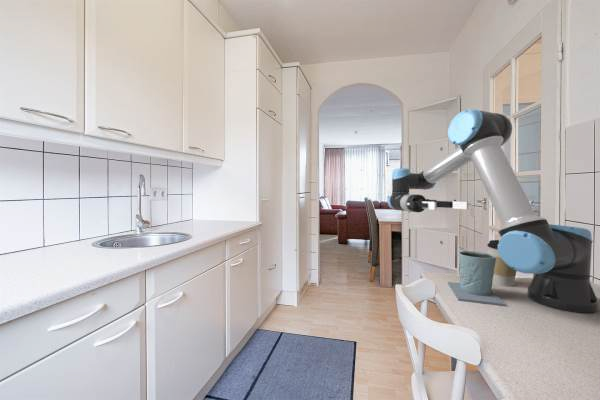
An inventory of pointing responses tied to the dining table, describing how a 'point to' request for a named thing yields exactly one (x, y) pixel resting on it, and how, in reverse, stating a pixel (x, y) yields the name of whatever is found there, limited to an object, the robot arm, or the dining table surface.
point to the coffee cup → (501, 267)
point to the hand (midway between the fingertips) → (451, 205)
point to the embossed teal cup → (476, 272)
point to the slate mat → (475, 296)
